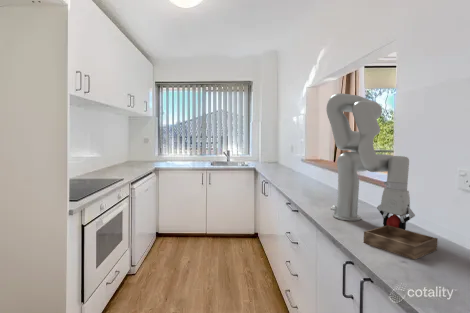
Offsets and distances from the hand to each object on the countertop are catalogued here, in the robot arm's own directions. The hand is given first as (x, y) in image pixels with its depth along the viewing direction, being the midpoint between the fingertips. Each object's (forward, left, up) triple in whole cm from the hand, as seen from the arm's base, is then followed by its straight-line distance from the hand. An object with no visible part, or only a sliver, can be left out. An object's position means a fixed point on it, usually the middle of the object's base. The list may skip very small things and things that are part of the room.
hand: (393, 228), depth 127 cm
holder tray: (+10, -15, -1) cm, 18 cm away
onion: (0, 0, -2) cm, 2 cm away
